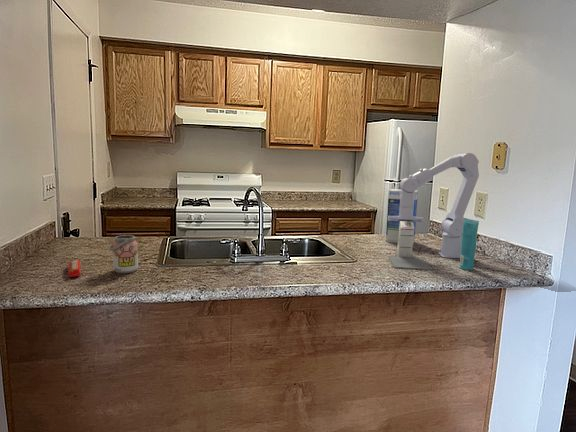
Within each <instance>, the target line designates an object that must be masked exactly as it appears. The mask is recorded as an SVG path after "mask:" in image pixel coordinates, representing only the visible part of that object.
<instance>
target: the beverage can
mask: <svg viewBox="0 0 576 432" xmlns="http://www.w3.org/2000/svg"><path fill="white" fill-rule="evenodd" d="M138 247H139V246H138V242H137V241H136V237H135V235H132V234H127V235H126V234H123V235H117V236H114V242H112V243H111V244H110V245H109V247H108V250H109V251H112V268H113V271H114V272H115V273H117V274H131V273H134V272H137V270H138V269H139V248H138Z"/></svg>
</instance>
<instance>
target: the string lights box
mask: <svg viewBox="0 0 576 432" xmlns="http://www.w3.org/2000/svg"><path fill="white" fill-rule="evenodd" d="M418 192H419V190H418V189H416V191H415V194H414V209H413V216H414V217H417V212H418V210H417V209H418ZM400 195H401V189H400V188H398V189H397V188H391V189H389V190H388V195H387V214H386V215H387V216H386V232H385V233H386V234H385V242H386V243H394V244H398V235H399V222H398V221H388V216H399V208H400ZM402 220H403V219H402ZM413 223H414V237H413V244H414V243H415V241H416V226H417V222H413Z"/></svg>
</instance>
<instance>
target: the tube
mask: <svg viewBox="0 0 576 432" xmlns="http://www.w3.org/2000/svg"><path fill="white" fill-rule="evenodd" d="M479 222H480V221H479V220H474V219H471V218H466V217H464V221H463V233H462V234H461V236H462V246H461V256H460V258H459V259H460V260H459V268H460V269H462V270H466V271H472V270H474V267H475V266H474V264H475V255H476V245H477V238H478V230H479V224H480V223H479Z"/></svg>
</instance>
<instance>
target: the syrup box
mask: <svg viewBox="0 0 576 432" xmlns="http://www.w3.org/2000/svg"><path fill="white" fill-rule="evenodd" d="M413 237H414V223H413V222H412V221H400V224H399V235H398V243H397V246H396V247H397V250H396V251H397V257H413V256H412V255H413V247H414V243H413Z"/></svg>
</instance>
